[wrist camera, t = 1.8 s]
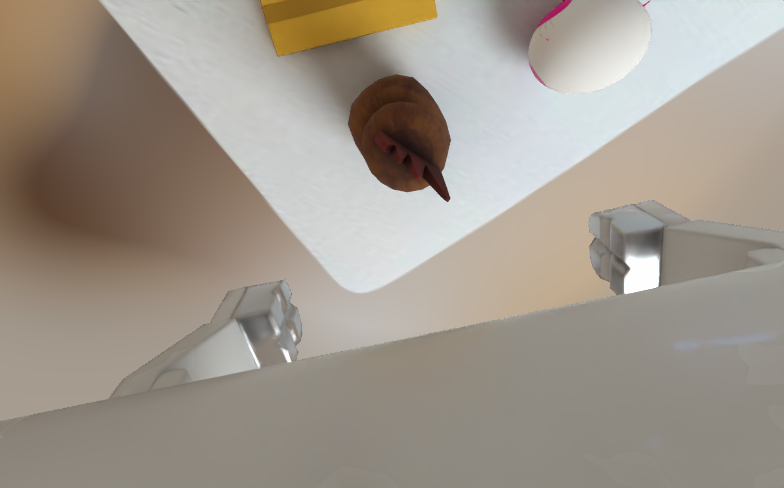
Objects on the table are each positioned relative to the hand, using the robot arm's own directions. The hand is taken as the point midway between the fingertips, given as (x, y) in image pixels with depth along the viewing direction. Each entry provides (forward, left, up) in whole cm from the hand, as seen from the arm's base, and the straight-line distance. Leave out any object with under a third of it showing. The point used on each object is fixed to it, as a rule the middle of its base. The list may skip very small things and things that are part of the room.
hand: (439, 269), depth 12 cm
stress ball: (-13, -3, -24) cm, 27 cm away
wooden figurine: (0, 0, -24) cm, 24 cm away
